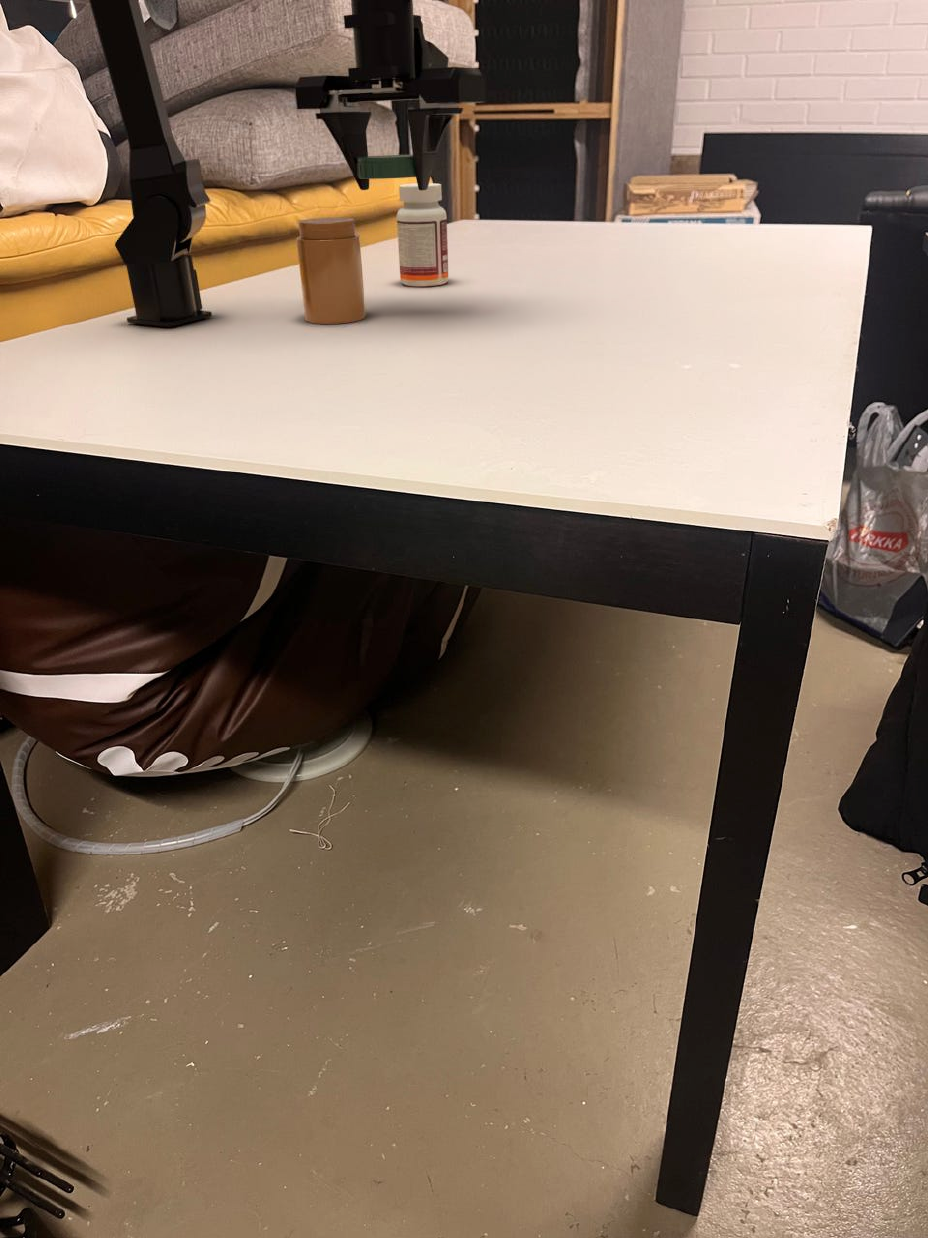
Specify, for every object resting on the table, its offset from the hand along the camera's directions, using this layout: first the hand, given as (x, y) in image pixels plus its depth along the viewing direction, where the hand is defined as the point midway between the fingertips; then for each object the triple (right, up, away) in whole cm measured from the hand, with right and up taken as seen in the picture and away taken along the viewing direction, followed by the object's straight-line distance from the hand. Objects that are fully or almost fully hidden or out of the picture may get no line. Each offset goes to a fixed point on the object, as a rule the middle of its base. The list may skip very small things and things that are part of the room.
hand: (393, 189), depth 88 cm
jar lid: (0, +2, -1) cm, 3 cm away
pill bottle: (+2, -1, +23) cm, 23 cm away
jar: (-7, -11, +4) cm, 14 cm away
